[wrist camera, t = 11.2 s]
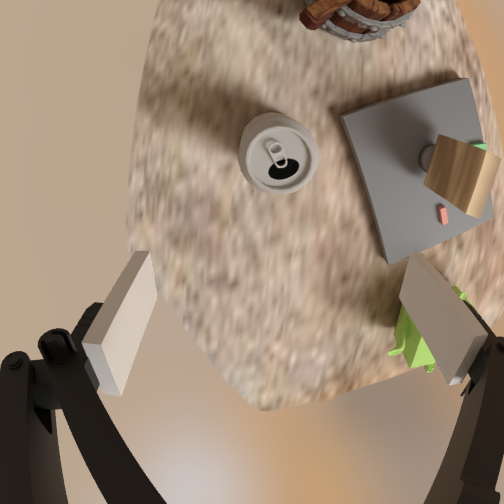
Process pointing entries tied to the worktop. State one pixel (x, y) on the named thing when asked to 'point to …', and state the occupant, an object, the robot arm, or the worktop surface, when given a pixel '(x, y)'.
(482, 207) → the peg key
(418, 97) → the board
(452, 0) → the worktop surface
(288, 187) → the can
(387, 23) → the mug
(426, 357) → the kettle
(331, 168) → the worktop surface
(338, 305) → the worktop surface
